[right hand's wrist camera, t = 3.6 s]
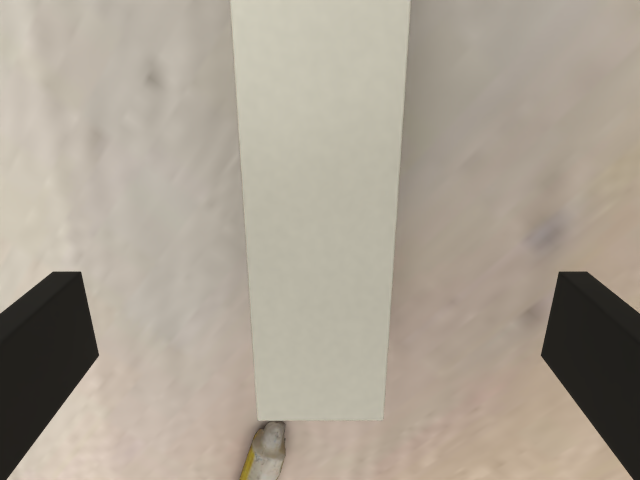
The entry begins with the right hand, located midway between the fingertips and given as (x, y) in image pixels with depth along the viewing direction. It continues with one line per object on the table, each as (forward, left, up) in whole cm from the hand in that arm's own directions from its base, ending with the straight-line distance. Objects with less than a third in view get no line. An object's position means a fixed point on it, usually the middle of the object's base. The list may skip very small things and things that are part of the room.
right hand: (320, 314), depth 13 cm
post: (+28, -12, -13) cm, 33 cm away
